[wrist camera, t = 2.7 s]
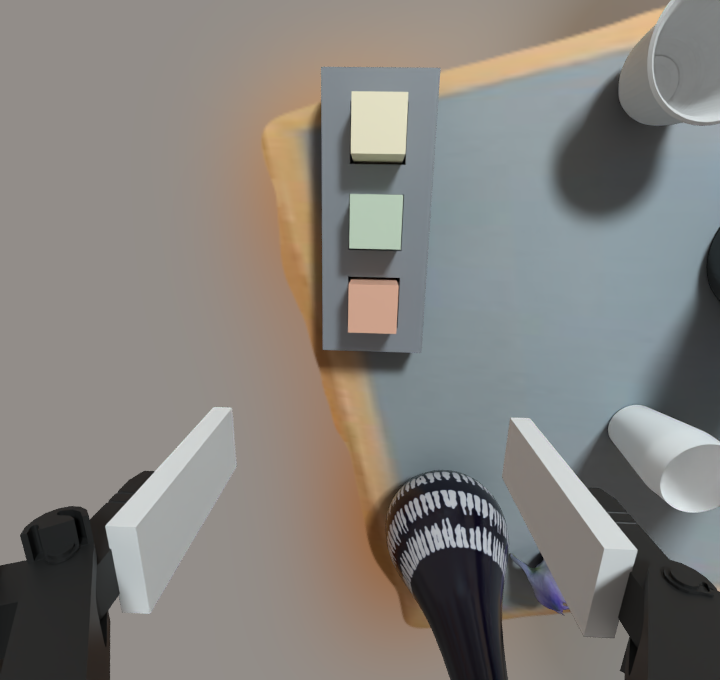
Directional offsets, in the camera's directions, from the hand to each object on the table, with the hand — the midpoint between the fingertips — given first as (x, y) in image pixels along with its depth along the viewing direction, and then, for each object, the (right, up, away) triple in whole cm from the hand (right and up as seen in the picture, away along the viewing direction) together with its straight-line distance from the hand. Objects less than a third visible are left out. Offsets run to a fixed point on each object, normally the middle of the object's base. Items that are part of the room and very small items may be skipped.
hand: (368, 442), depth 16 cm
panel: (+2, +19, +32) cm, 37 cm away
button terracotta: (+1, +9, +32) cm, 34 cm away
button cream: (+2, +27, +27) cm, 38 cm away
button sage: (+1, +18, +30) cm, 35 cm away
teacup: (+32, +33, +27) cm, 53 cm away
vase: (+11, -19, +43) cm, 48 cm away
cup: (+38, -8, +38) cm, 54 cm away
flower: (+28, -30, +45) cm, 61 cm away
